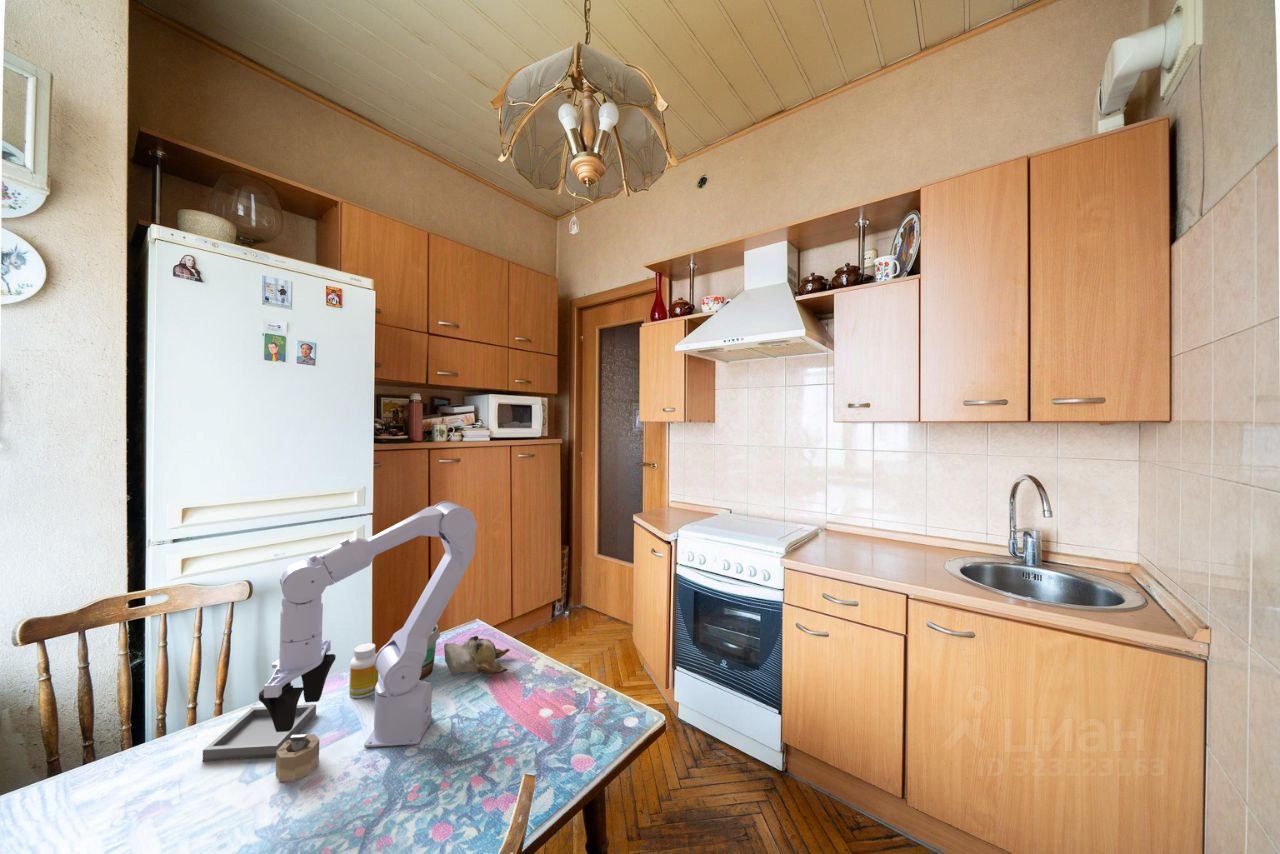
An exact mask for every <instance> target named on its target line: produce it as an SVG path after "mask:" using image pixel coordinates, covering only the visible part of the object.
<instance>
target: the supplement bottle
mask: <svg viewBox="0 0 1280 854" xmlns="http://www.w3.org/2000/svg"><path fill="white" fill-rule="evenodd" d="M376 655H377V653H376V644H375V643H374V642H373V643H370V642H369V643H368V642H367V643H362V644H358V646H357V645H356V647H355V648H354V650H353V658H352V659H351V660H350V662H349V663H350V664H349V679H348V680H349V683H348V684H349V685H348V687H349V688H348V689H349V690H348V693H349V694H348V695H349V697H351V698H353V699H364V698H366V697H367V698H368V697H369V696H372V695H373V694H375V686H376V684H377V682H378V680H379V672H378V671H377V670H376V668H375V664H374V661H375V657H376Z"/></svg>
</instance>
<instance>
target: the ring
mask: <svg viewBox="0 0 1280 854" xmlns="http://www.w3.org/2000/svg"><path fill="white" fill-rule="evenodd" d="M306 734H307V733H306ZM291 751H292V741H290V740H288V741H286V742H284V744H283V745H282V746H281V747H280V748H279V749H278V750H277V751H276V757H275V776H276V779H277V780H278V782H279V783H286V782H287V783H288V782H296V781H298V780H299V779H302V778H304V777H306V776H308V775H310V774H311V773H312V772H314V770H315V768H316V767H317V766H318V765H319V763H320V738H319V737H318V736H317V735H316V734H315V733H309V734H307V738H306V739H305V748H304V749H302V750H300V751H298V752H291Z"/></svg>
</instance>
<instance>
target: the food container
mask: <svg viewBox="0 0 1280 854" xmlns="http://www.w3.org/2000/svg"><path fill="white" fill-rule="evenodd" d="M439 628H440V627H439V626H438V624H436V626H435V627H434V629H433V631H432V633H431V635H430V637H429V638H428V642H427V654H426V658H425V660H424V662H423V664H422V669H421V676H420V679H419V680H420V681H423V680H425V679H427V678H428V677H430V676H431V675H432V673H433V672H434V666H435V665H434V664H435V657H436V650H437V649H436V647H437V642H438V640H439V638H440V636H441V633H440V629H439Z"/></svg>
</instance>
